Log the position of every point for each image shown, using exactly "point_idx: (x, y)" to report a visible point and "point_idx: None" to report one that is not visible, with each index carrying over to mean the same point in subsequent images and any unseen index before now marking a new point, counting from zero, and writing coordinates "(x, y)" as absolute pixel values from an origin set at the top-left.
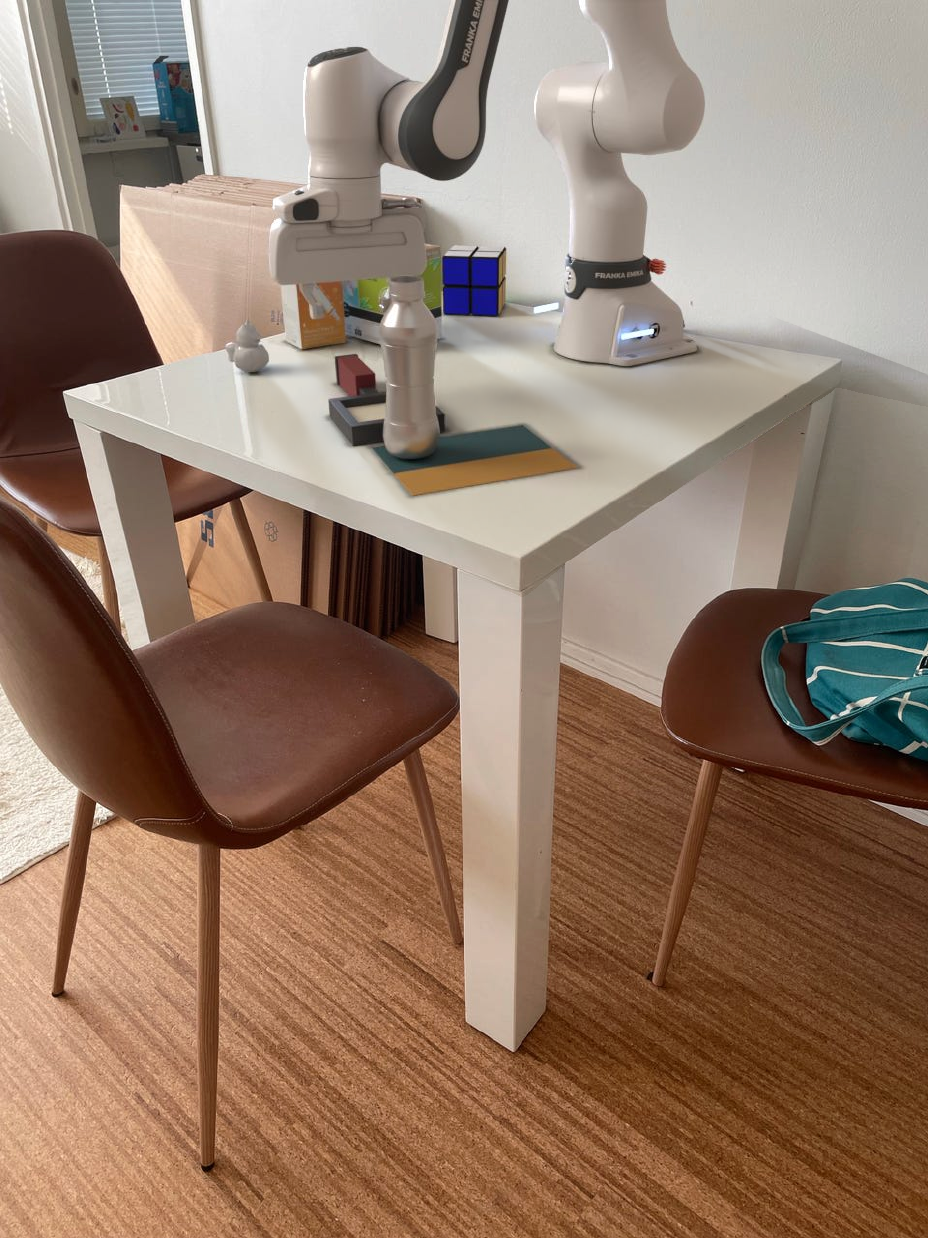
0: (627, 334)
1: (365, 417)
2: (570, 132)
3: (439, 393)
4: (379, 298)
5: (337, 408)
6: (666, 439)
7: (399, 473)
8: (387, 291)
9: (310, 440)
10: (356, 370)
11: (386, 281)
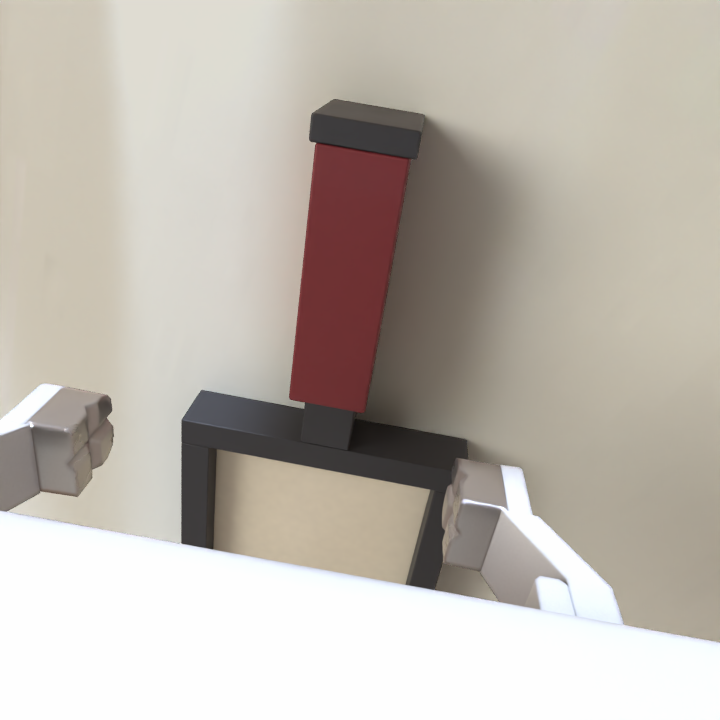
0: None
1: (257, 517)
2: None
3: (595, 395)
4: (456, 510)
5: (184, 494)
6: None
7: None
8: (518, 547)
9: (115, 493)
10: (317, 351)
11: (532, 587)
